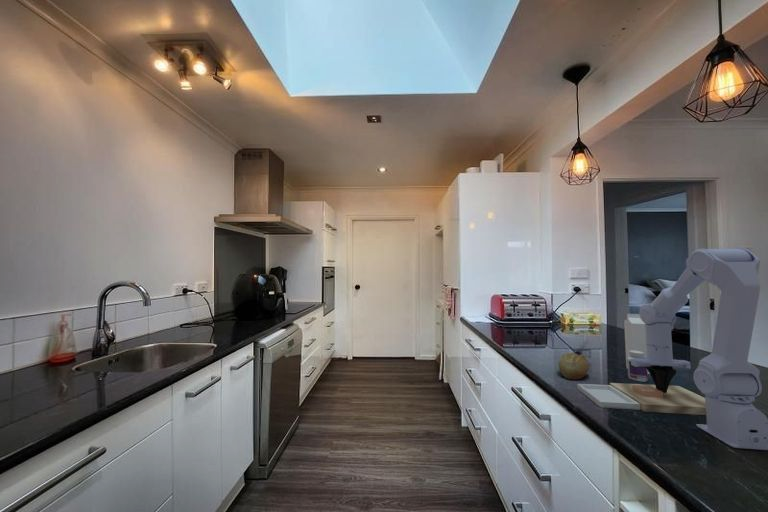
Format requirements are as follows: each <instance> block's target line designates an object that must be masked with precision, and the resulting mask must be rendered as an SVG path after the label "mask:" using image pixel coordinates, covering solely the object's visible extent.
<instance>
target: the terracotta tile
mask: <svg viewBox="0 0 768 512" xmlns="http://www.w3.org/2000/svg"><path fill="white" fill-rule="evenodd" d="M650 385H651V384H646V385H632V390H633V391H635V392H637V393H638V394H640V395H642V396H644V397H661V398H663V392H662V391H660V390H658V389H656V388H654V387H652V386H650Z"/></svg>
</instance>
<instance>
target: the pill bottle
mask: <svg viewBox="0 0 768 512" xmlns="http://www.w3.org/2000/svg"><path fill="white" fill-rule="evenodd" d="M629 354H630V357H628V358H627V364H628V369H627V376H628V379H630V380H631V381H635V382H640V383H641V382H642V383H644V382H648V380H649V375H648V372H647V369H646V367H645V366H639V367H635V366H633V365H631V359H636V358H643V357H644V353H643V352H640V351H629Z"/></svg>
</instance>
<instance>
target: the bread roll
mask: <svg viewBox="0 0 768 512" xmlns="http://www.w3.org/2000/svg"><path fill="white" fill-rule="evenodd" d="M558 368H559V371H560V373H561V375H563V376H562V377H564V378H566V379H568V380H571V379H572V380H573V381H574V380H575V381H576V380H580V379H582V378H584V377H585V376H586V374H587V373H588V371H589V370H590V363H589V360H588V359H587V357H586V355H583V354H581V353H580V354H577V353H576V352H574V353H573V352H572V353H571V352H567V353H564V354H563V355H562V356H561V357H560V359H559V361H558ZM572 380H571V381H572Z"/></svg>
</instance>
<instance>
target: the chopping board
mask: <svg viewBox="0 0 768 512" xmlns="http://www.w3.org/2000/svg"><path fill="white" fill-rule="evenodd" d="M609 385H611V386H612V387H614V388H616V389H617V390H619V391H620V392H622V393H623V394H625V395H627V396H628V397H630V398H631V399H633V400H634V401H636V402H638V403H639V404H640V410H641V411H642V412H645V413H661V414H662V413H665V414H679V415H697V416H698V415H699V416H706V404H705V396H701V395H699V394H697V393H696V392H693V391H691V390H688V389H686V388H684V387H682V386H679V385H669V386H668V390H667V393H663V398H661V397H644V396H642V395H640V394H638V393H637V392H635V391H633V390H632V385H647V384H645V383H644V384H642V383H640V384H639V383H622V382H620V383H618V382H609ZM649 385H650V386H652V387H654V388H656V386H655V384H649Z"/></svg>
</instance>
